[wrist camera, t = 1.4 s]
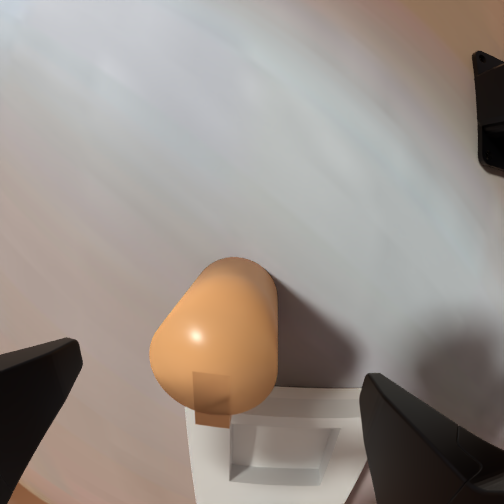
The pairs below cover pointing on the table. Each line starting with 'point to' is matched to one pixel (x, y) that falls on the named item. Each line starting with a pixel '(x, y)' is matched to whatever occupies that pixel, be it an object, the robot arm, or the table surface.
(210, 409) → the orange rounded tapered piece
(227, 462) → the housing
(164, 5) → the table surface
